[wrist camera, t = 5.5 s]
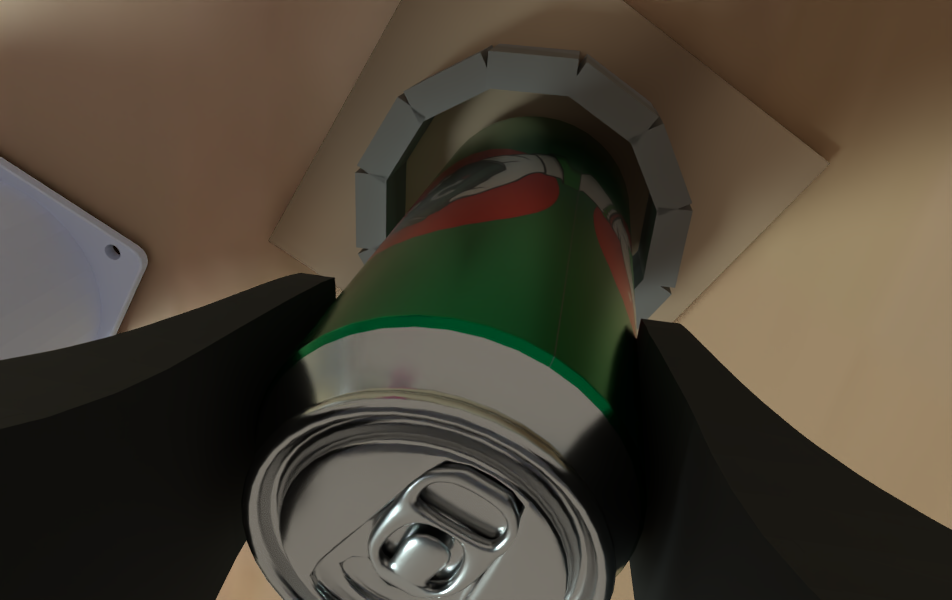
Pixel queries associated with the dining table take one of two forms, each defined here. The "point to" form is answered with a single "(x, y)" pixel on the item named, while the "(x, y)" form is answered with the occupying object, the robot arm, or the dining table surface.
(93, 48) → the dining table surface
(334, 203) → the can socket
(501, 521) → the soda can
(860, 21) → the dining table surface
